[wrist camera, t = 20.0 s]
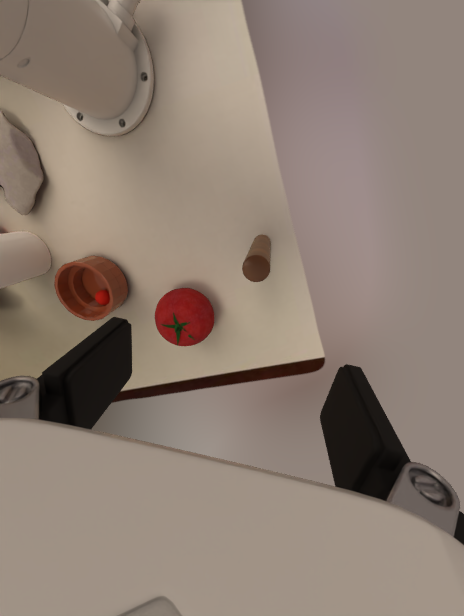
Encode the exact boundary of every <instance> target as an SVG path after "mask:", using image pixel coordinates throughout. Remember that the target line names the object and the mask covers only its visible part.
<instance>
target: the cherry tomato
mask: <svg viewBox="0 0 464 616" xmlns="http://www.w3.org/2000/svg"><path fill="white" fill-rule="evenodd" d="M95 299H96V301H97V302H98V303H99V304H101V305H107V304H109V303H110V295H109V291H107V290H100V291H98V292H97V293H96V295H95Z"/></svg>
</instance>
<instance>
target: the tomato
mask: <svg viewBox="0 0 464 616" xmlns="http://www.w3.org/2000/svg"><path fill="white" fill-rule="evenodd" d="M155 322H156V326H157V329H158V331H159V333H160V334H161V335H162V336H163V337H164V338H165V339H166V340H167V341H169V342H170V343H172V344H175V345H177V346H191V345H195V344H197V343H199V342H201V341H202V340H204V339H205V338H206V337H207V336H208V335H209V334H210V332H211V330H212V328H213V326H214V311H213V307H212V305H211V303H210V302H209V300H208V299H207V298H206V297H205V296H204V295H203V294H202V293H200V292H198V291H196V290H194V289H190V288H180V289H175V290H172V291H170V292H168V293H166V294H165V295H164V296H163V297H162V298H161V299H160V301H159V303H158V304H157V308H156V311H155Z"/></svg>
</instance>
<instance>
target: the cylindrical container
mask: <svg viewBox="0 0 464 616" xmlns="http://www.w3.org/2000/svg"><path fill="white" fill-rule="evenodd" d="M50 266H51V255H50V252H49V250H48V248H47V246H46V245H45V243H44V242H43V241H42V240H41V239H40V238H39V237H38V236H36V235H35V234H33V233H30V232H27V231H19V232H11V233H4V234H0V289H1V288H4V287H7V286H10V285H13V284H16V283H18V282H21V281H24V280H27V279H30V278H33V277H36V276H39V275H42V274H45V273H46V272H47V271H48V270H49V269H50Z"/></svg>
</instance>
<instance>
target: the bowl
mask: <svg viewBox="0 0 464 616" xmlns="http://www.w3.org/2000/svg"><path fill="white" fill-rule="evenodd" d="M54 286H55V290H56V294H57V296H58V298H59V300H60V302H61V303H62V304H63V305H64V307H65V308H66V309H67V310H68V311H69V312H71V313H72V314H74V315H75V316H77V317H79V318H82V319H84V320H91V321H94V320H99V319H102V318H104V317H105V316H107V315H108V314H110V313H111V312H112V311H114V310H115V309H117V308H118V307H119V306H121V305H122V304H123V302H124V301H125V299H126V297H127V292H128V289H127V282H126V279H125V277H124V275H123V273H122V272H121V270H120V269H119V268H118V266H116V265H115V264H114V263H113V262H111V261H110V260H108V259H106V258H103V257H100V256H89V257H85V258H82V259H79V260H76V261H73V262H70V263H67V264H64V265H63V266H62V267H61V268H59V269H58V271H57V274H56V276H55V284H54ZM100 290H107V291H109V295H110V303H109V304H107V305H101V304H99V303H98V302H97V301H96V299H95V295H96V293H97V292H98V291H100Z"/></svg>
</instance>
